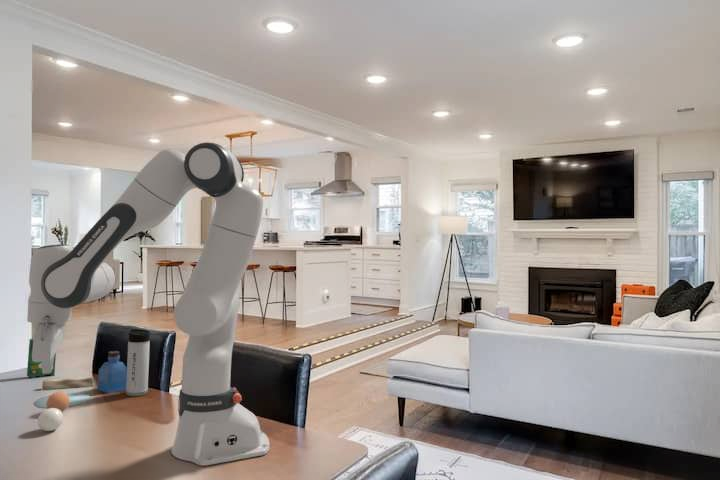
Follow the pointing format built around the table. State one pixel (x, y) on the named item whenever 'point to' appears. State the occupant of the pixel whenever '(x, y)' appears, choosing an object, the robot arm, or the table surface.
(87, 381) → the rail
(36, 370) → the coffee box
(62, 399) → the object ball
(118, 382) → the perfume bottle
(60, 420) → the cue ball
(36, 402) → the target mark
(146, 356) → the travel mug
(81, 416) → the table surface
